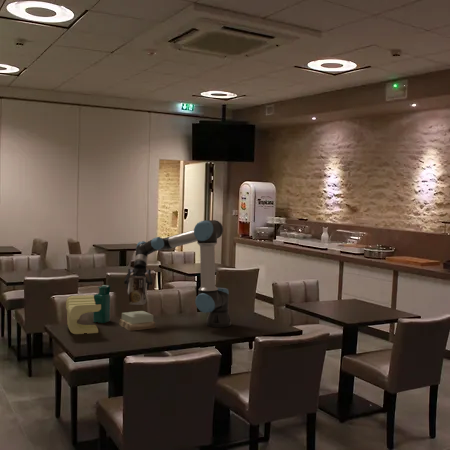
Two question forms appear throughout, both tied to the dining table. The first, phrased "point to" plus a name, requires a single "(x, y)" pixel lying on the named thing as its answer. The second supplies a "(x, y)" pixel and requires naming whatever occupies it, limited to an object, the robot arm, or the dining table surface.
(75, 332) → the slatted curved stool
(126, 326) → the tower base
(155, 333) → the dining table surface
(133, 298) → the coffee box
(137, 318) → the white flat square block
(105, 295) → the green bottle
